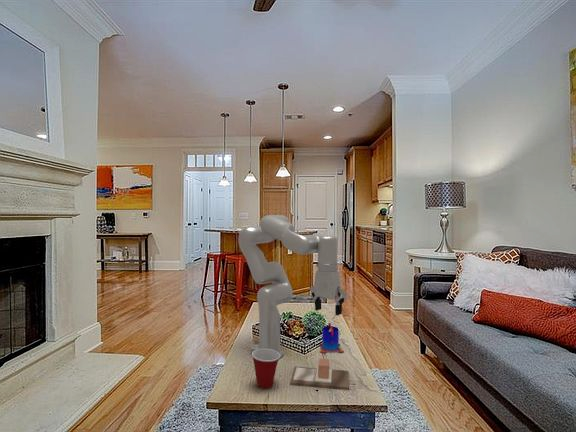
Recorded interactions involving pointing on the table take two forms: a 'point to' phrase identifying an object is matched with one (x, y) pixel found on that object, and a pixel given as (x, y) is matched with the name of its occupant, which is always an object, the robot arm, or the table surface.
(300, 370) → the board
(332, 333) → the fantasy tower
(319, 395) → the table surface
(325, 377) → the stub
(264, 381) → the plastic cup
